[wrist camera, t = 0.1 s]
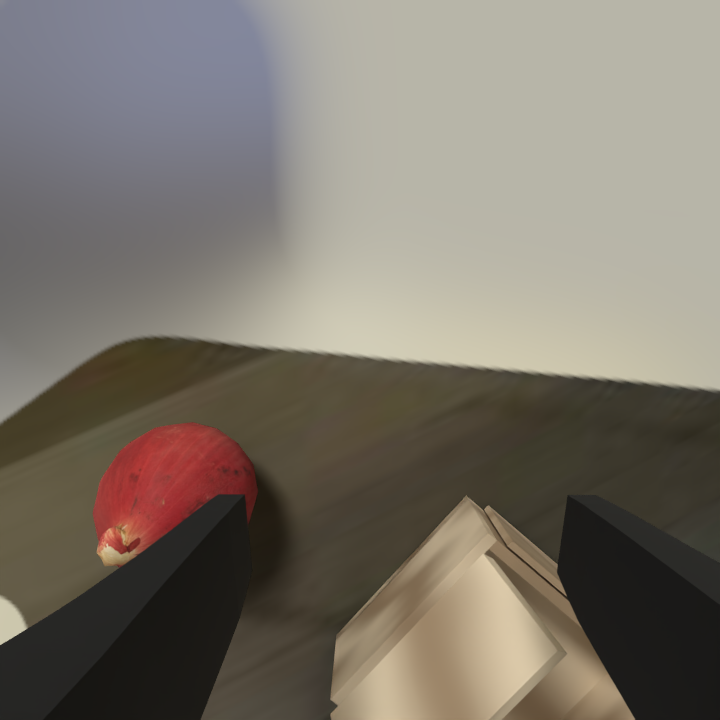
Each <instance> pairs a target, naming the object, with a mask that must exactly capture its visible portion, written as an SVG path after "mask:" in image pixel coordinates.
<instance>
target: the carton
mask: <svg viewBox="0 0 720 720" xmlns="http://www.w3.org/2000/svg"><path fill="white" fill-rule="evenodd" d="M484 510H485V511H484ZM484 510H482V509H481V508H480V507H479V506H478V505H477V504H475V503H474V502H473V501H472V500H471V499H470V498H468V497H467V496H465V497H464V498H463V500H462V501H461V502H460V503H459V504H458V505H457V506H456V507H455V508H454V509H453V510H452V511H451V512H450V513H449V515H448V516H447V517H446V518H445V519H444V520H443V521H442V522H441V523H440V524H439V525H438V526H437V527H436V529H435V530H434V531H433V532H432V533H431V534H430V535H429V536H428V537H427V538H426V539H425V540H424V541H423V543H422V544H421V545H420V546H419V547H418V548H417V549H416V550H415V551H414V552H413V553H412V554H411V555H410V556H409V558H408V559H407V560H406V561H405V562H404V563H403V564H402V565H401V566H400V567H399V568H398V569H397V570H396V572H395V573H394V574H393V575H392V576H391V577H390V578H389V579H388V580H387V581H386V582H385V583H384V584H383V585H382V587H381V588H380V589H379V590H378V591H377V592H376V593H375V594H374V595H373V596H372V597H371V598H370V599H369V601H368V602H367V603H366V604H365V605H364V606H363V607H362V608H361V609H360V610H359V611H358V612H357V613H356V615H355V616H354V617H353V618H352V619H351V620H350V621H349V622H348V623H347V624H346V625H345V626H344V627H343V628H342V630H341V631H340V632H339V633H338V634H337V635H336V646H335V656H334V667H333V678H332V688H331V700H332V701H333V702H334V703H336V704H337V705H338V706H339V705H340V704H341V703H342V702H343V700H344V699H345V698H346V697H347V696H348V695H349V694H350V693H351V692H352V691H353V690H354V689H355V688H356V687H357V686H358V685H359V684H360V683H361V682H362V680H363V679H364V678H365V677H366V676H367V675H368V674H369V673H370V672H371V671H372V670H373V669H374V668H375V667H376V666H377V665H378V664H379V663H380V662H381V660H382V659H383V658H384V657H385V656H386V655H387V654H388V653H389V652H390V651H391V650H392V649H393V648H394V647H395V646H396V645H397V644H398V643H399V642H400V640H401V639H402V638H403V637H404V636H405V635H406V634H407V633H408V632H409V631H410V630H411V629H412V628H413V627H414V626H415V625H416V624H417V623H418V622H419V620H420V619H421V618H422V617H423V616H424V615H425V614H426V613H427V612H428V611H429V610H430V609H431V608H432V607H433V606H434V605H435V604H436V603H437V602H438V600H439V599H440V598H441V597H442V596H443V595H444V594H445V593H446V592H447V591H448V590H449V589H450V588H451V587H452V586H453V585H454V584H455V583H456V582H457V580H458V579H459V578H460V577H461V576H462V575H463V574H464V573H465V572H466V571H467V570H468V569H469V568H470V567H471V566H472V565H473V564H474V563H475V562H476V560H477V559H478V558H479V557H480V556H481V555H482V554H485V555H487V556H489V557H491V558H493V559H494V561H495V562H496V563H497V564H498V566H499V567H500V568H501V569H502V571H503V572H504V573H505V575H506V576H507V577H508V578H509V580H510V581H511V582H512V584H513V585H514V586H515V587H516V589H517V590H518V591H519V592H520V594H521V595H522V596H523V598H524V599H525V600H526V601H527V603H528V604H529V605H530V606H531V608H532V609H533V610H534V612H535V613H536V614H537V615H538V617H539V618H540V619H541V620H542V622H543V623H544V624H545V626H546V627H547V628H548V629H549V631H550V632H551V633H552V635H553V636H554V637H555V638H556V640H557V641H558V642H559V643H560V645H561V646H562V647H563V649H564V650H565V651H566V652H567V655H566V656H565V657H564V658H563V659H562V660H561V661H560V662H559V663H558V664H557V665H556V666H555V667H554V668H553V669H552V670H551V671H550V672H549V673H548V674H547V675H546V676H545V677H544V678H543V679H542V680H541V681H540V682H539V683H538V684H537V685H536V686H535V687H534V688H533V689H532V690H531V691H530V692H529V693H528V694H527V695H526V696H525V697H524V698H523V699H522V700H521V701H520V702H519V703H518V704H517V705H516V706H515V707H514V708H513V709H512V710H511V711H510V712H509V713H508V714H507V715H506V716H505V717H504V718H503V719H502V720H635V718H634V717H633V715H632V713H631V711H630V710H629V708H628V706H627V705H626V703H625V701H624V700H623V698H622V696H621V694H620V693H619V691H618V689H617V688H616V686H615V684H614V682H613V681H612V679H611V677H610V676H609V674H608V672H607V671H606V669H605V667H604V665H603V664H602V662H601V660H600V659H599V657H598V655H597V653H596V652H595V650H594V648H593V646H592V645H591V643H590V641H589V639H588V638H587V636H586V634H585V632H584V631H583V629H582V627H581V625H580V624H579V622H578V620H577V617H576V615H575V613H574V611H573V609H572V607H571V604H570V602H569V600H568V598H567V595H566V593H565V591H564V588H563V586H562V584H561V581H560V579H559V576H558V574H557V567H558V565H557V564H556V563H555V562H554V561H553V560H552V559H550V558H549V557H548V556H547V555H546V554H545V553H543V552H542V551H541V550H540V549H539V548H538V547H536V546H535V545H534V544H533V543H532V542H531V541H529V540H528V539H527V538H526V537H525V536H524V535H522V534H521V533H520V532H519V531H518V530H517V529H515V528H514V527H513V526H512V525H511V524H510V523H508V522H507V521H506V520H505V519H504V518H503V517H501V516H500V515H499V514H498V513H497V512H496V511H494V510H493V509H492V508H491V507H490V506H489V505H488V506H487V507H486V508H485V509H484Z"/></svg>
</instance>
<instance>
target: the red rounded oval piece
mask: <svg viewBox="0 0 720 720" xmlns="http://www.w3.org/2000/svg"><path fill="white" fill-rule="evenodd" d="M218 494H245V499H246V510H247V520H248V524H249V521H250V518H251V515H252V511H253V508H254V504H255V501H256V497H257V494H258V488H257V483H256V477H255V472H254V466H253V464H252V462H251V461H250V459H249V458H248V457H247V455H246V454H245V452H244V451H243V450H242V448H241V447H240V446H239V444H238V443H237V442H235V441H234V440H232V439H231V438H230V437H228V436H227V435H225V434H224V433H223V432H221V431H220V430H218V429H216V428H212V427H209V426H205V425H201V424H197V423H193V422H191V423H183V424H175V425H167V426H162V427H157V428H154V429H152V430H151V431H149V432H147V433H145V434H144V435H142V436H140V437H139V438H137V439H135V440H133V441H132V442H130V443H129V444H128V445H127V446H125V447H124V448H123V449H122V450H121V451H120V452H119V453H118V455H117V456H116V458H115V459H114V461H113V462H112V464H111V465H110V466H109V468H108V469H107V471H106V472H105V474H104V476H103V477H102V479H101V481H100V484H99V488H98V493H97V497H96V501H95V506H94V510H93V516H94V522H95V527H96V532H97V537H98V540H99V544H98V549H97V554H98V555H99V556H100V557H101V558H102V561H103V563H104V566H115V565H117V566H118V567H119V568H120V567H122V566H123V565H124V564H126V563H127V562H129V561H130V560H131V559H133V558H134V557H136V556H137V555H139V554H140V553H141V552H143V551H144V550H145V549H147V548H148V547H149V546H150V545H152V544H153V543H154V542H156V541H157V540H158V539H160V538H161V537H162V536H164V535H165V534H166V533H168V532H169V531H170V530H172V529H173V528H174V527H175V526H177V525H178V524H179V523H181V522H182V521H183V520H185V519H186V518H187V517H188V516H190V515H191V514H192V513H194V512H195V511H196V510H197V509H199V508H200V507H201V506H203V505H204V504H205V503H207V502H208V501H209V500H211V499H212V498H214V497H215V496H217V495H218Z"/></svg>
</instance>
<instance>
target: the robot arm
mask: <svg viewBox="0 0 720 720" xmlns="http://www.w3.org/2000/svg"><path fill="white" fill-rule="evenodd" d="M251 573H252V563H251V553H250V542H249V531H248V520H247V510H246V499H245V494H218V495H217V496H215V497H214V498H212V499H211V500H209V501H208V502H207V503H205V504H204V505H203V506H201V507H200V508H199V509H197V510H196V511H195V512H194V513H192V514H191V515H190V516H188V517H187V518H186V519H185V520H183V521H182V522H181V523H179V524H178V525H177V526H175V527H174V528H173V529H172V530H170V531H169V532H168V533H166V534H165V535H164V536H162V537H161V538H160V539H158V540H157V541H156V542H154V543H153V544H152V545H150V546H149V547H148V548H147V549H145V550H144V551H143V552H141V553H140V554H139V555H137V556H136V557H134V558H133V559H131V560H130V561H129V562H127V563H126V564H124V565H123V566H122V567H120V568H119V569H117V570H116V571H114V572H113V573H112V574H110V575H109V576H107V577H106V578H104V579H103V580H102V581H100V582H99V583H97V584H96V585H95V586H93V587H92V588H90V589H89V590H87V591H86V592H85V593H83V594H82V595H80V596H79V597H77V598H76V599H74V600H73V601H71V602H70V603H68V604H66V605H65V606H63V607H62V608H60V609H59V610H57V611H55V612H54V613H52V614H51V615H49V616H48V617H46V618H44V619H43V620H41V621H39V622H38V623H36V624H35V625H33V626H31V627H30V628H28V629H26V630H25V631H23V632H22V633H20V634H18V635H17V636H15V637H13V638H12V639H10V640H8V641H7V642H5V643H3V644H2V645H0V720H200V719H201V717H202V714H203V712H204V709H205V707H206V704H207V701H208V699H209V696H210V694H211V691H212V689H213V686H214V683H215V681H216V678H217V676H218V673H219V671H220V668H221V666H222V663H223V660H224V658H225V655H226V653H227V650H228V647H229V645H230V642H231V639H232V637H233V634H234V632H235V629H236V626H237V624H238V621H239V618H240V615H241V611H242V607H243V604H244V600H245V597H246V593H247V589H248V585H249V581H250V577H251ZM557 574H558V576H559V579H560V581H561V584H562V586H563V588H564V591H565V593H566V595H567V598H568V600H569V602H570V604H571V607H572V609H573V611H574V613H575V615H576V617H577V620H578V622H579V624H580V625H581V627H582V629H583V631H584V632H585V634H586V636H587V638H588V639H589V641H590V643H591V645H592V646H593V648H594V650H595V652H596V653H597V655H598V657H599V659H600V660H601V662H602V664H603V665H604V667H605V669H606V671H607V672H608V674H609V676H610V677H611V679H612V681H613V682H614V684H615V686H616V688H617V689H618V691H619V693H620V694H621V696H622V698H623V700H624V701H625V703H626V705H627V706H628V708H629V710H630V711H631V713H632V715H633V717H634V718H635V720H720V563H719V562H717V561H715V560H713V559H712V558H710V557H708V556H706V555H704V554H703V553H701V552H699V551H697V550H695V549H694V548H692V547H690V546H688V545H686V544H685V543H683V542H681V541H679V540H678V539H676V538H674V537H672V536H670V535H669V534H667V533H665V532H663V531H662V530H660V529H658V528H656V527H655V526H653V525H651V524H649V523H647V522H646V521H644V520H642V519H640V518H639V517H637V516H635V515H633V514H631V513H629V512H628V511H626V510H624V509H622V508H620V507H618V506H617V505H615V504H613V503H611V502H609V501H607V500H605V499H603V498H600V497H598V496H596V495H568V497H567V504H566V511H565V518H564V525H563V532H562V539H561V546H560V553H559V560H558V567H557Z"/></svg>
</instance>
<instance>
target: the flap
mask: <svg viewBox="0 0 720 720" xmlns="http://www.w3.org/2000/svg"><path fill="white" fill-rule="evenodd" d="M566 655H567V652H566V651H565V650H564V649H563V647H562V646H561V645H560V643H559V642H558V641H557V640H556V638H555V637H554V636H553V635H552V633H551V632H550V631H549V629H548V628H547V627H546V626H545V624H544V623H543V622H542V620H541V619H540V618H539V617H538V615H537V614H536V613H535V612H534V610H533V609H532V608H531V606H530V605H529V604H528V603H527V601H526V600H525V599H524V598H523V596H522V595H521V594H520V592H519V591H518V590H517V589H516V587H515V586H514V585H513V584H512V582H511V581H510V580H509V578H508V577H507V576H506V575H505V573H504V572H503V571H502V569H501V568H500V567H499V566H498V564H497V563H496V562H495V561H494V559H493V558H491V557H489V556H487V555H485V554H482V555H481V556H480V557H479V558H478V559H477V560H476V562H475V563H474V564H473V565H472V566H471V567H470V568H469V569H468V570H467V571H466V572H465V573H464V574H463V575H462V576H461V577H460V578H459V579H458V580H457V582H456V583H455V584H454V585H453V586H452V587H451V588H450V589H449V590H448V591H447V592H446V593H445V594H444V595H443V596H442V597H441V598H440V599H439V600H438V602H437V603H436V604H435V605H434V606H433V607H432V608H431V609H430V610H429V611H428V612H427V613H426V614H425V615H424V616H423V617H422V618H421V619H420V620H419V622H418V623H417V624H416V625H415V626H414V627H413V628H412V629H411V630H410V631H409V632H408V633H407V634H406V635H405V636H404V637H403V638H402V639H401V640H400V642H399V643H398V644H397V645H396V646H395V647H394V648H393V649H392V650H391V651H390V652H389V653H388V654H387V655H386V656H385V657H384V658H383V659H382V660H381V662H380V663H379V664H378V665H377V666H376V667H375V668H374V669H373V670H372V671H371V672H370V673H369V674H368V675H367V676H366V677H365V678H364V679H363V680H362V682H361V683H360V684H359V685H358V686H357V687H356V688H355V689H354V690H353V691H352V692H351V693H350V694H349V695H348V696H347V697H346V698H345V699H344V700H343V702H342V703H341V704H340V705H339V706H338V707H337V708H336V709H335V710H334V711H333V712H332V713H331V714H330V715H331V719H332V720H502V719H503V718H504V717H505V716H506V715H507V714H508V713H509V712H510V711H511V710H512V709H513V708H514V707H515V706H516V705H517V704H518V703H519V702H520V701H521V700H522V699H523V698H524V697H525V696H526V695H527V694H528V693H529V692H530V691H531V690H532V689H533V688H534V687H535V686H536V685H537V684H538V683H539V682H540V681H541V680H542V679H543V678H544V677H545V676H546V675H547V674H548V673H549V672H550V671H551V670H552V669H553V668H554V667H555V666H556V665H557V664H558V663H559V662H560V661H561V660H562V659H563V658H564V657H565V656H566Z"/></svg>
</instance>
